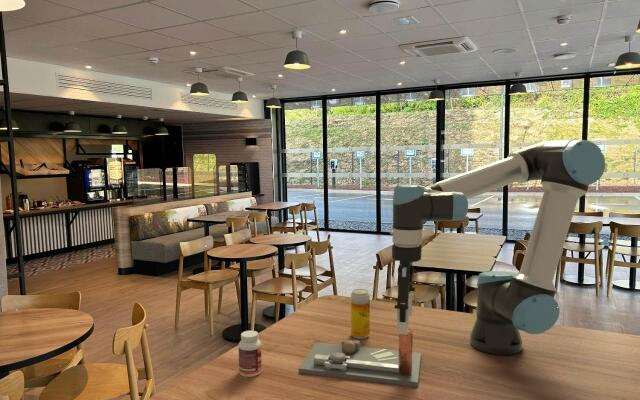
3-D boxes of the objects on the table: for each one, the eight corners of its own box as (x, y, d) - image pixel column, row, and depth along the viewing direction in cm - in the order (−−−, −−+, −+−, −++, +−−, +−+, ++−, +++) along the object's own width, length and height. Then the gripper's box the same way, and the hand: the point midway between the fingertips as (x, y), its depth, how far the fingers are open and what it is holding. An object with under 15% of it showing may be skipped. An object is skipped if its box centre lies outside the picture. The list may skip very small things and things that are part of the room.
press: (421, 356, 138) (421, 341, 138) (417, 386, 121) (417, 369, 120) (316, 345, 146) (315, 331, 146) (298, 372, 129) (298, 355, 128)
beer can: (368, 340, 150) (368, 294, 148) (349, 338, 151) (349, 293, 150) (370, 333, 156) (370, 289, 154) (352, 331, 157) (352, 288, 156)
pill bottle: (262, 376, 127) (262, 337, 126) (239, 379, 126) (238, 339, 124) (260, 366, 133) (259, 328, 132) (238, 368, 132) (237, 330, 130)
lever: (312, 366, 129) (311, 326, 128) (317, 358, 134) (317, 319, 133) (411, 378, 122) (411, 335, 121) (412, 368, 128) (413, 327, 126)
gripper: (396, 235, 134) (395, 307, 137) (386, 253, 110) (384, 340, 113) (423, 236, 132) (421, 309, 135) (419, 255, 109) (416, 344, 111)
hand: (404, 323), depth 124 cm, fingers open, 13 cm apart
